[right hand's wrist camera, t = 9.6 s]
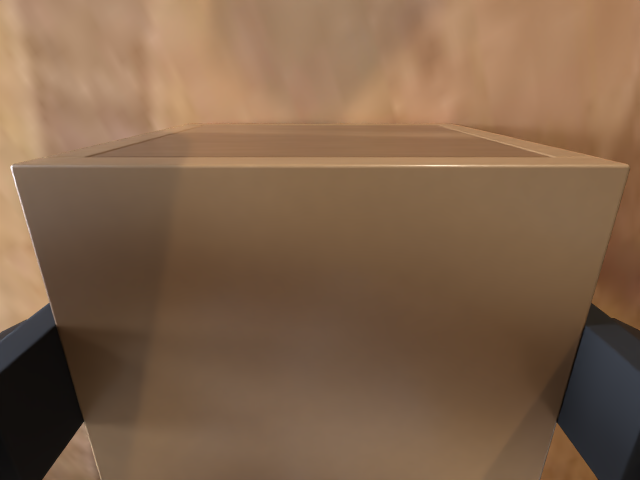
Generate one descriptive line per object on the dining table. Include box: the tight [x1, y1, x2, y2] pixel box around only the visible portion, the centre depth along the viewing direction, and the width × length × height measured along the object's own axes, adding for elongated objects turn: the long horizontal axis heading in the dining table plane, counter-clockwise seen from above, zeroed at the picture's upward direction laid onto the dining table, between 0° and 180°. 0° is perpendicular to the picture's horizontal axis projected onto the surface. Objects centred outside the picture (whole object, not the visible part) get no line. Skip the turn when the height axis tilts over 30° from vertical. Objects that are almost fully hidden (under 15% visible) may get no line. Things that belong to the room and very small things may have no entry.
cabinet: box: [11, 124, 630, 480], centre depth 15 cm, size 21×11×10 cm, turn 0°
